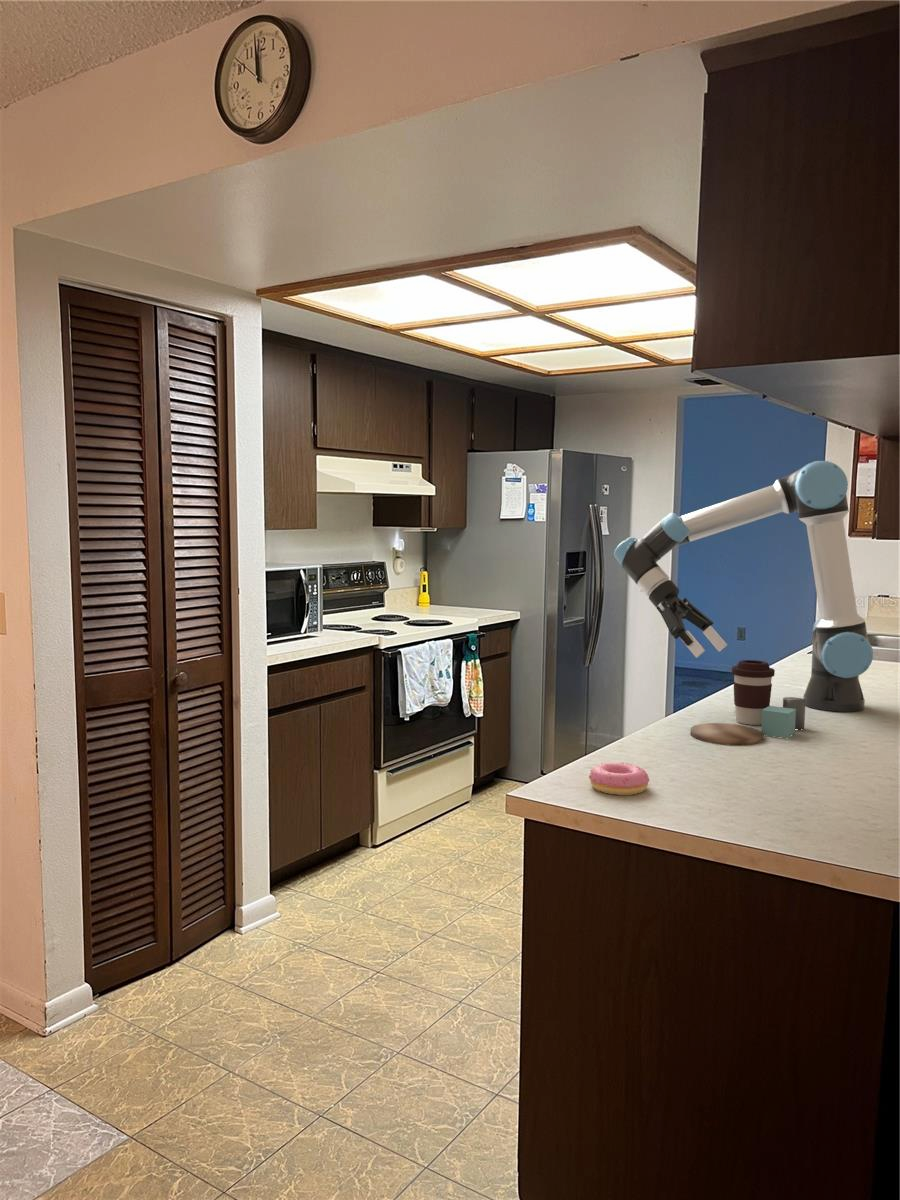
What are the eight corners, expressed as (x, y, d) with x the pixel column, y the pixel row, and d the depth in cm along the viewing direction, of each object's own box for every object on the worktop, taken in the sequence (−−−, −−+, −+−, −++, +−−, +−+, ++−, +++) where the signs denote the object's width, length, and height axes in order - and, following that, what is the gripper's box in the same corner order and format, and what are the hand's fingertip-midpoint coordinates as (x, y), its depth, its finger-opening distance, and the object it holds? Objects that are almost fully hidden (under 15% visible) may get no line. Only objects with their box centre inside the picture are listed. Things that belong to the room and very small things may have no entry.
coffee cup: (726, 724, 220) (728, 663, 219) (734, 716, 229) (736, 657, 228) (769, 728, 216) (771, 666, 214) (775, 720, 224) (777, 660, 223)
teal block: (768, 730, 214) (769, 705, 213) (794, 734, 210) (795, 709, 210) (760, 735, 209) (762, 710, 209) (787, 739, 206) (788, 713, 205)
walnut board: (739, 726, 217) (739, 721, 217) (777, 743, 202) (777, 737, 202) (678, 729, 214) (678, 724, 214) (712, 746, 198) (712, 741, 198)
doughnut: (660, 789, 167) (661, 767, 167) (625, 802, 160) (625, 779, 159) (612, 777, 175) (613, 756, 175) (576, 788, 168) (577, 766, 167)
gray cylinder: (796, 725, 219) (797, 696, 219) (808, 729, 215) (809, 700, 214) (777, 726, 218) (778, 697, 218) (789, 730, 214) (791, 701, 213)
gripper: (670, 594, 247) (721, 655, 239) (626, 601, 228) (680, 666, 220) (689, 576, 243) (742, 636, 235) (646, 581, 224) (701, 647, 216)
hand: (712, 651), depth 227 cm, fingers open, 13 cm apart
